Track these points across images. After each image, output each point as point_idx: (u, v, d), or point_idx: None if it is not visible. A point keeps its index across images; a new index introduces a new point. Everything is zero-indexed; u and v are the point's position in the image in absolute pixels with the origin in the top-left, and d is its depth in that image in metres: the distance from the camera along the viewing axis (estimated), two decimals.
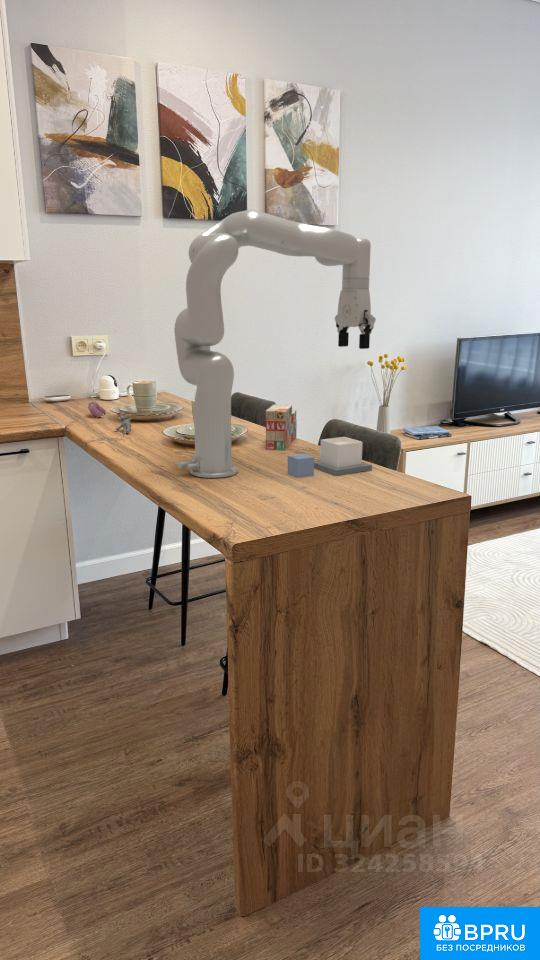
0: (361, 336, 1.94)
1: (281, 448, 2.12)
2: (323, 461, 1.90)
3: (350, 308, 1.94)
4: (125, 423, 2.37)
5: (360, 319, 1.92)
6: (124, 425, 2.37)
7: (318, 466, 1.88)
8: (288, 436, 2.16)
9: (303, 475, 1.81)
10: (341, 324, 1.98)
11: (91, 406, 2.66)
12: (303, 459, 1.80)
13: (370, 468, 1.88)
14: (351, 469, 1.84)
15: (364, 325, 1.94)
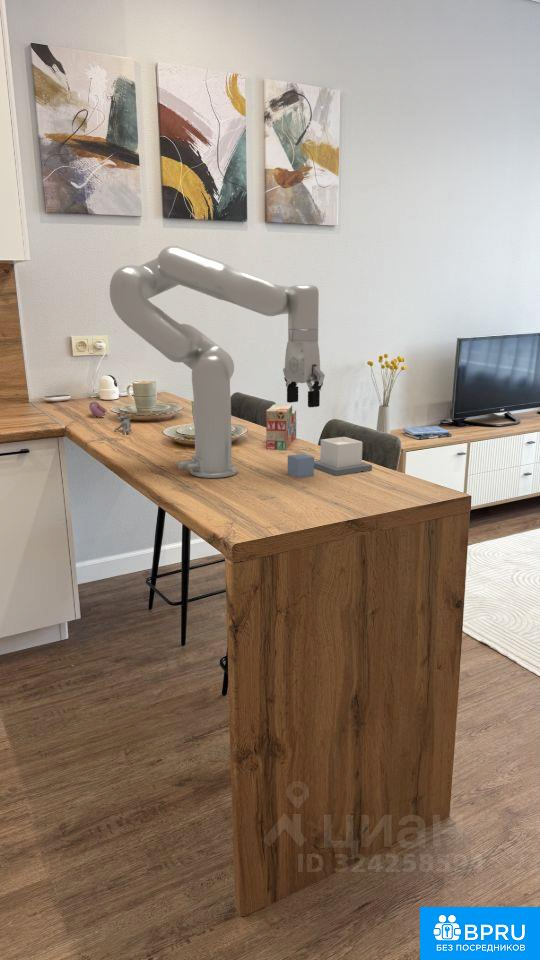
0: (310, 393, 1.73)
1: (282, 448, 2.13)
2: (323, 461, 1.90)
3: (297, 362, 1.73)
4: (125, 423, 2.37)
5: (308, 375, 1.72)
6: (124, 425, 2.37)
7: (318, 466, 1.88)
8: (288, 436, 2.16)
9: (303, 475, 1.81)
10: (288, 379, 1.78)
11: (92, 406, 2.66)
12: (303, 459, 1.80)
13: (370, 468, 1.88)
14: (351, 469, 1.84)
15: (313, 381, 1.74)
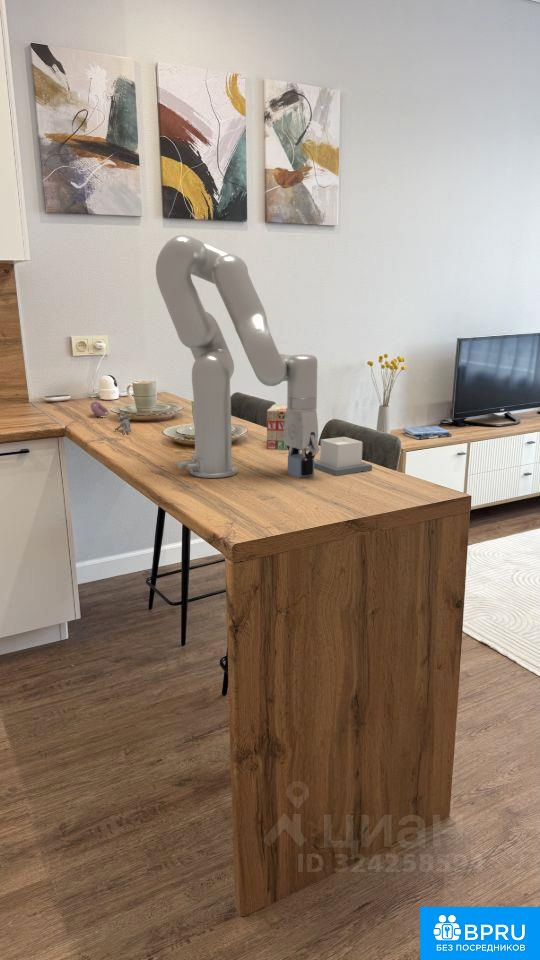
0: (303, 463, 1.79)
1: (282, 448, 2.13)
2: (323, 461, 1.90)
3: (296, 429, 1.78)
4: (124, 423, 2.37)
5: (306, 442, 1.76)
6: (123, 425, 2.38)
7: (318, 466, 1.88)
8: None
9: None
10: (287, 444, 1.82)
11: (94, 406, 2.66)
12: None
13: (370, 468, 1.88)
14: (351, 469, 1.84)
15: None
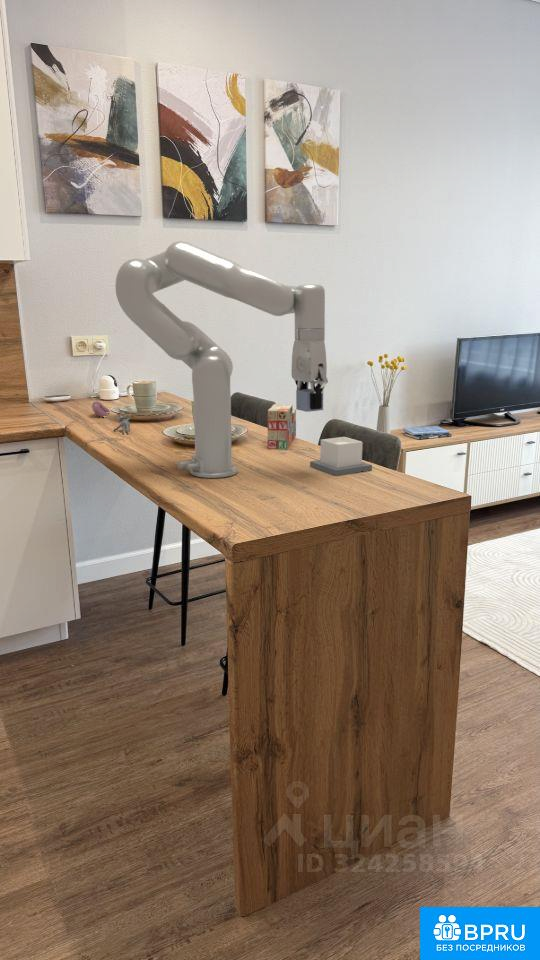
0: (312, 396, 1.76)
1: (283, 447, 2.13)
2: (323, 461, 1.90)
3: (304, 361, 1.74)
4: (124, 423, 2.38)
5: (314, 374, 1.73)
6: (123, 425, 2.38)
7: (318, 466, 1.88)
8: (289, 435, 2.17)
9: None
10: (295, 378, 1.79)
11: (95, 406, 2.66)
12: None
13: (370, 468, 1.88)
14: (351, 469, 1.84)
15: None
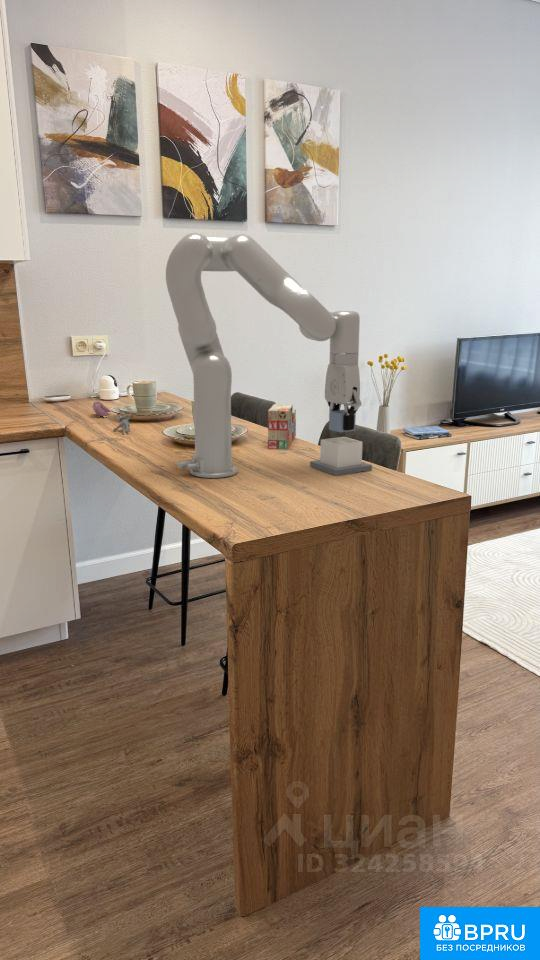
0: (345, 417, 1.83)
1: (283, 447, 2.13)
2: (323, 461, 1.90)
3: (338, 384, 1.81)
4: (124, 423, 2.38)
5: (349, 397, 1.80)
6: (123, 425, 2.38)
7: (318, 466, 1.88)
8: (290, 435, 2.17)
9: None
10: (329, 400, 1.86)
11: (96, 406, 2.66)
12: None
13: (370, 468, 1.88)
14: (351, 469, 1.84)
15: None
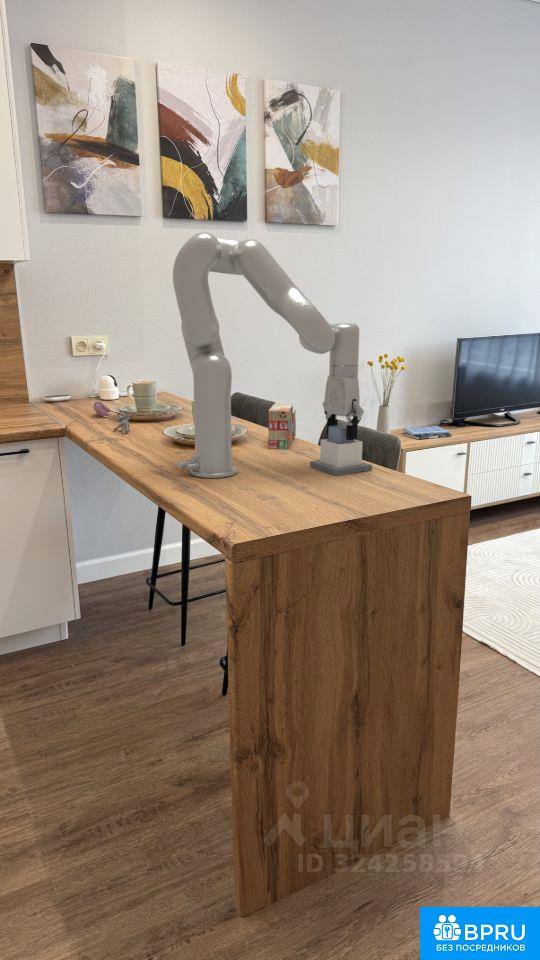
0: (348, 427, 1.83)
1: (284, 447, 2.14)
2: (323, 461, 1.90)
3: (338, 396, 1.82)
4: (124, 423, 2.38)
5: (348, 409, 1.81)
6: (123, 425, 2.38)
7: (318, 466, 1.88)
8: (290, 435, 2.17)
9: None
10: (328, 411, 1.87)
11: (96, 406, 2.66)
12: (344, 429, 1.85)
13: (370, 468, 1.88)
14: (351, 469, 1.84)
15: (352, 414, 1.83)
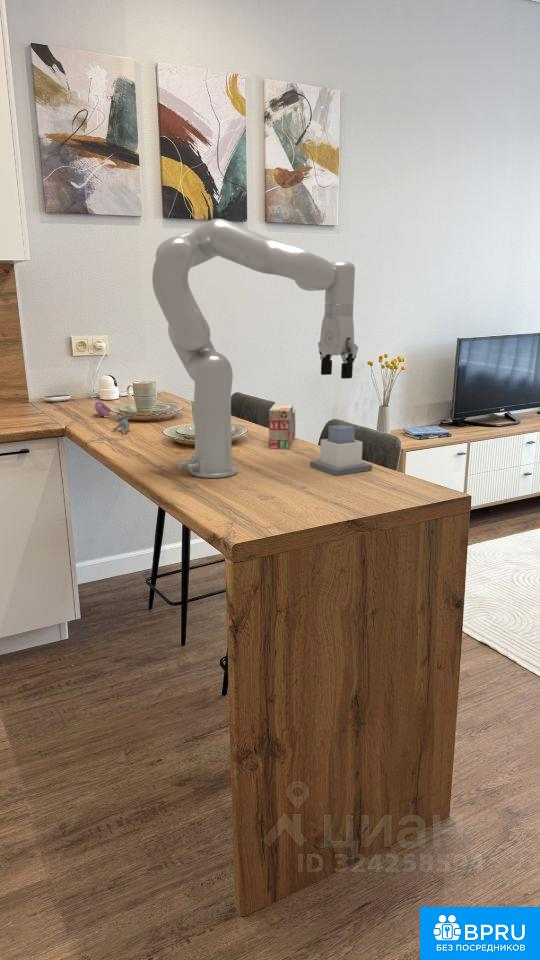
0: (343, 365, 1.82)
1: (285, 447, 2.14)
2: (323, 461, 1.90)
3: (332, 335, 1.83)
4: (123, 423, 2.38)
5: (342, 347, 1.81)
6: (122, 425, 2.38)
7: (318, 466, 1.88)
8: None
9: None
10: (323, 352, 1.87)
11: (98, 406, 2.66)
12: (344, 429, 1.85)
13: (370, 468, 1.88)
14: (351, 469, 1.84)
15: (347, 353, 1.83)
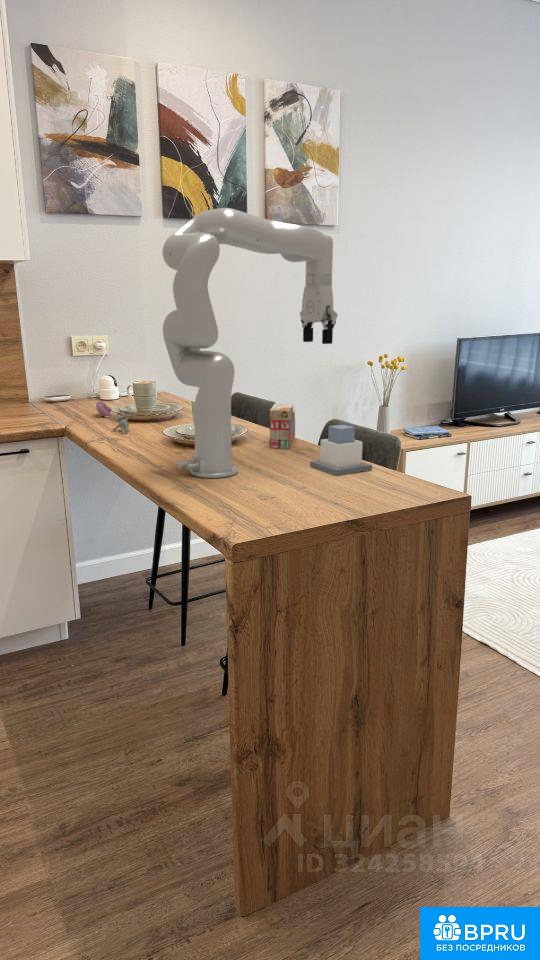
0: (324, 331, 1.97)
1: (285, 447, 2.14)
2: (323, 461, 1.90)
3: (313, 304, 1.97)
4: (123, 423, 2.38)
5: (323, 314, 1.95)
6: (122, 425, 2.38)
7: (318, 466, 1.88)
8: (291, 435, 2.18)
9: None
10: (305, 320, 2.01)
11: (99, 406, 2.66)
12: (344, 429, 1.85)
13: (370, 468, 1.88)
14: (351, 469, 1.84)
15: (327, 320, 1.97)
